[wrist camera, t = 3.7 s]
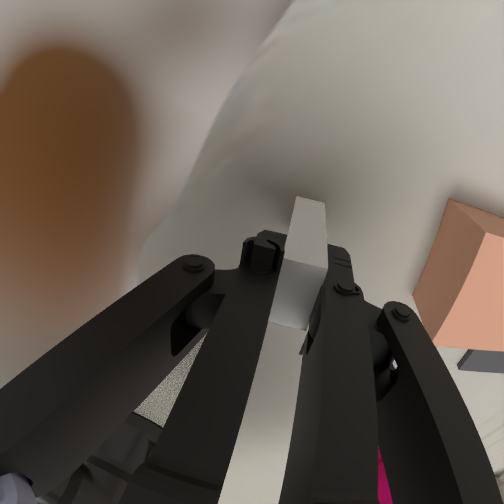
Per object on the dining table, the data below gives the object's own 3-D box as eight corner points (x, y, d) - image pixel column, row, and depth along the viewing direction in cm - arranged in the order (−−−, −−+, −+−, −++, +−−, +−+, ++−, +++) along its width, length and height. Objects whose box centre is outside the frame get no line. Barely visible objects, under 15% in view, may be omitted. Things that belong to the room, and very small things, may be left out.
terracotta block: (411, 294, 18) (429, 345, 14) (447, 197, 15) (486, 232, 10) (483, 307, 17) (507, 351, 13) (520, 225, 14) (559, 259, 9)
